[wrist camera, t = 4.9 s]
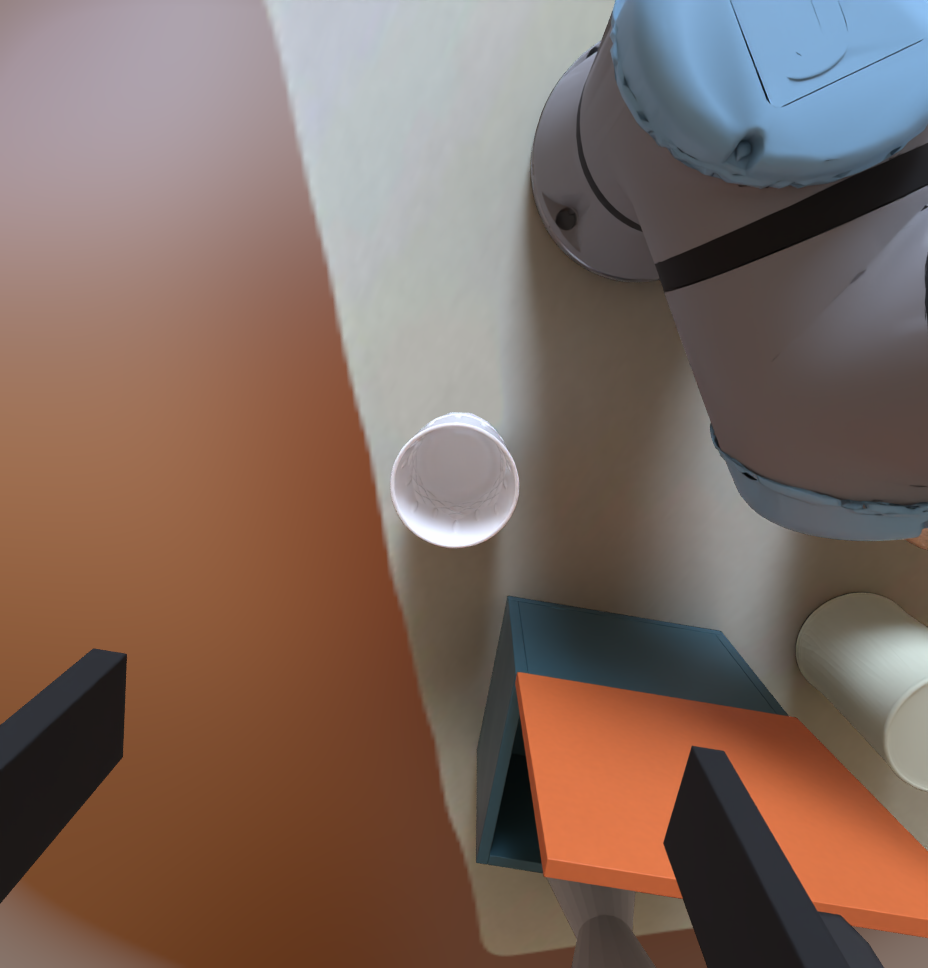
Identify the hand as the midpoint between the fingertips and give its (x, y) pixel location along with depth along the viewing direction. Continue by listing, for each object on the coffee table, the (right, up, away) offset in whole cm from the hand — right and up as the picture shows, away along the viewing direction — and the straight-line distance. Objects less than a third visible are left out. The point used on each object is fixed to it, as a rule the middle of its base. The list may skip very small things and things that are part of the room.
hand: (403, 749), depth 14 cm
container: (+12, -11, +38) cm, 41 cm away
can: (+33, -7, +36) cm, 50 cm away
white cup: (+1, +8, +33) cm, 35 cm away
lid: (+13, -9, +17) cm, 23 cm away
